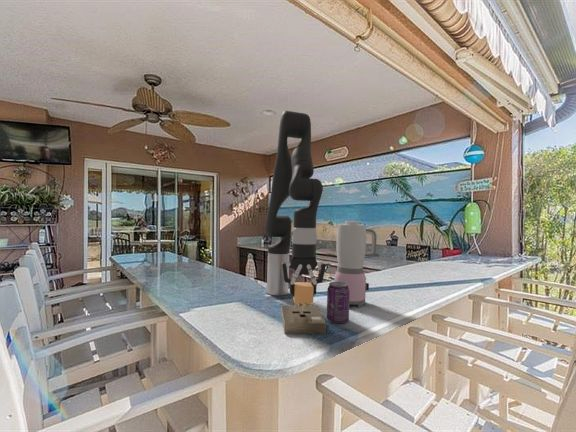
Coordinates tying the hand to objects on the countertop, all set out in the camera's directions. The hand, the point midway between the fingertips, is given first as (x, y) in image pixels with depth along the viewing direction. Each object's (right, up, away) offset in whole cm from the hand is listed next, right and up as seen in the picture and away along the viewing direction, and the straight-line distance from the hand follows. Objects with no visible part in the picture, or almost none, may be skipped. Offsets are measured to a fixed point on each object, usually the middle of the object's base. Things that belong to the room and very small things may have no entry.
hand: (302, 295), depth 94 cm
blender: (+21, -9, +23) cm, 32 cm away
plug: (0, -4, 0) cm, 4 cm away
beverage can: (+11, -9, +3) cm, 15 cm away
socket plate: (0, -9, 0) cm, 9 cm away
